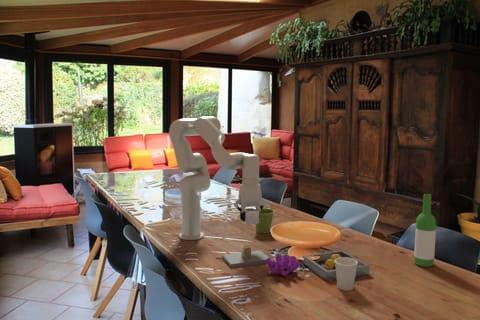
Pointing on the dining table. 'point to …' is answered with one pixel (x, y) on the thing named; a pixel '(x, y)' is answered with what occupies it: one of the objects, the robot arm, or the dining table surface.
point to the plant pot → (265, 220)
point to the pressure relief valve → (331, 261)
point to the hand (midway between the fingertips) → (249, 219)
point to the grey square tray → (331, 274)
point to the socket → (251, 216)
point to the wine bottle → (425, 235)
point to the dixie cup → (345, 272)
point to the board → (247, 261)
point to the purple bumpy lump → (283, 264)
